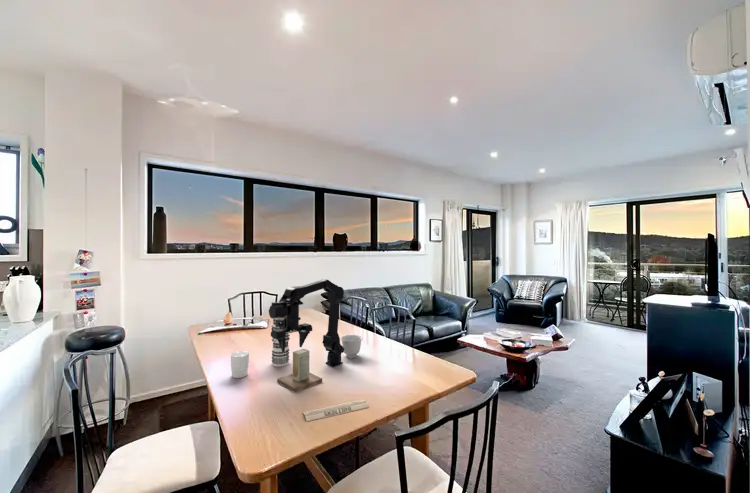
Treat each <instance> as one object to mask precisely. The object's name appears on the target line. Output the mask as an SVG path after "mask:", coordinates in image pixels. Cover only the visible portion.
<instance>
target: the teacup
mask: <svg viewBox="0 0 750 493" xmlns="http://www.w3.org/2000/svg"><path fill="white" fill-rule="evenodd" d="M362 340H363V337H362V336H360V335H358V334H348V335H343V336H341V337H340V341H341V345H342V346H343V347H344V352H343V353H344V354H345V357H346V358H348V359H353V358H354V357H355V358H357V356H358V354H359V353H360V351H361V347H362V346H361V344H362Z"/></svg>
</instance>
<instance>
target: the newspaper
mask: <svg viewBox="0 0 750 493" xmlns="http://www.w3.org/2000/svg"><path fill="white" fill-rule="evenodd" d="M368 407H369V408H370V406H369V404H368V402H367V401H366V400H365V399H363V398H362V399H357V400H355V401H354V400H353V401H349V402H344V403H340V404H335V405H330V406H327V407H322V408H317V409H313V410H308V411H304V412H302V415H304V416H305V419H306V420H305V421H306V422H307V423H308V422H313V421H317V420H321V419H325V418H329V417H334V416H338V415H342V414H347V413H351V412H355V411H359V410H360V411H361V410H364V409H365V410H366V409H368Z"/></svg>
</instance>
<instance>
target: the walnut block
mask: <svg viewBox="0 0 750 493" xmlns="http://www.w3.org/2000/svg"><path fill="white" fill-rule="evenodd" d="M276 382H277V383H278V384H280V385H281V386H283V387H285V388H287V389H289V390H291V391H292V392H293V393H297V392H299V391H301V390H304V389H307V388H310V387H313V386H315V385H317V384H318V385H319V384H320V383H321V384H322V382H323V378H322V377H320V376H318V375H316V374H314V373H311V371H309V378H307V379H304V380H302V381H299V382H298V381H296V380H294V379H293V373H290V374H287V375H285V376H281V377H278V378H276Z"/></svg>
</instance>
